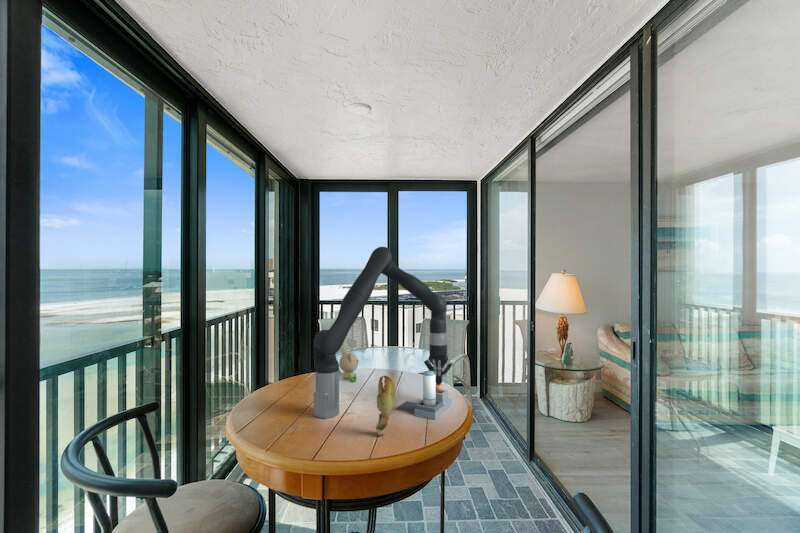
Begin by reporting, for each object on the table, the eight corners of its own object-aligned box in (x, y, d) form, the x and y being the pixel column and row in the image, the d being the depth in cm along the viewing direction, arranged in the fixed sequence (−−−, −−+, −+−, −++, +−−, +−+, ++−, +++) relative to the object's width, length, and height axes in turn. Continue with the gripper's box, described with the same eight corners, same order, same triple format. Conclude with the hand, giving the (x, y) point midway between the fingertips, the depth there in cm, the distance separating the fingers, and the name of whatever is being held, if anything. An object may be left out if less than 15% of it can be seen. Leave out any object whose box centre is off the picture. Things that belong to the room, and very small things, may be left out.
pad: (416, 413, 141) (416, 413, 141) (395, 409, 146) (395, 408, 146) (427, 405, 150) (427, 405, 150) (406, 401, 155) (406, 401, 155)
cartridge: (432, 410, 138) (432, 374, 138) (421, 408, 140) (420, 372, 141) (437, 406, 142) (437, 371, 143) (426, 404, 145) (426, 369, 145)
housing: (435, 419, 135) (435, 403, 135) (414, 415, 140) (414, 400, 140) (451, 405, 150) (451, 391, 150) (432, 401, 154) (431, 387, 155)
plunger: (440, 392, 148) (440, 386, 148) (433, 391, 149) (433, 385, 149) (443, 390, 150) (443, 384, 150) (436, 389, 152) (436, 383, 152)
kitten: (363, 380, 186) (363, 352, 187) (346, 383, 181) (346, 354, 182) (352, 374, 199) (351, 347, 200) (335, 376, 194) (335, 349, 194)
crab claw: (396, 433, 124) (396, 375, 125) (391, 439, 119) (390, 379, 120) (378, 430, 127) (378, 373, 127) (372, 436, 122) (372, 377, 122)
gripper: (420, 343, 150) (420, 384, 150) (449, 345, 144) (450, 388, 144) (427, 340, 157) (428, 379, 157) (456, 342, 150) (456, 383, 150)
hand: (438, 383), depth 150 cm, fingers closed
